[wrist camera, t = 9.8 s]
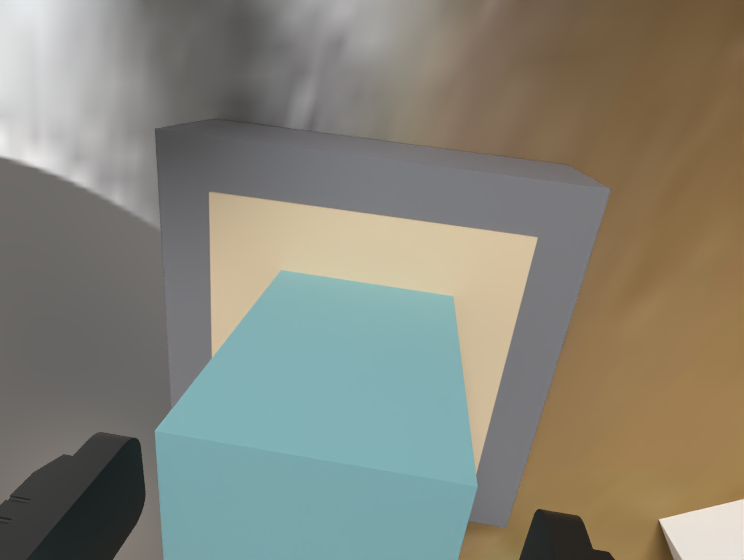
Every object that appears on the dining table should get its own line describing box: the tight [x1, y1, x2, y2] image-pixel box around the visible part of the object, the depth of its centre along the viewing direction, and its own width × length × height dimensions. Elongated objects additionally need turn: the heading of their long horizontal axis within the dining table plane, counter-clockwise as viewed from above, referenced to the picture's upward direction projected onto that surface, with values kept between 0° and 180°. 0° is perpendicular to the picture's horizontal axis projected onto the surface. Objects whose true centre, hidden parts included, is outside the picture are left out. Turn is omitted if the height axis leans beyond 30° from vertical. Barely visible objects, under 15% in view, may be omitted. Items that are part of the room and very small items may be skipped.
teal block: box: [155, 270, 478, 560], centre depth 11 cm, size 5×5×7 cm
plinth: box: [155, 119, 611, 528], centre depth 17 cm, size 12×12×4 cm
